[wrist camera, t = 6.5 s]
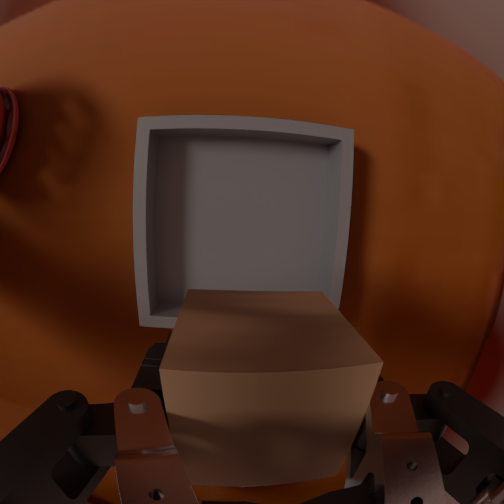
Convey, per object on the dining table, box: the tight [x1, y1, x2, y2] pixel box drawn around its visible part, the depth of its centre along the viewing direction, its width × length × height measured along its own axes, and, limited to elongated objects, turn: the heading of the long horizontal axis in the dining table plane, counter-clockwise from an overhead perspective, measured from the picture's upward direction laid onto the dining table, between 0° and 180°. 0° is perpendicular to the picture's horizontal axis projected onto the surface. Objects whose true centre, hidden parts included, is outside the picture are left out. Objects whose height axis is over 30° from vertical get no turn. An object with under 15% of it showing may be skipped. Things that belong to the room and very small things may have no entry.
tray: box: [133, 115, 354, 329], centre depth 22 cm, size 16×16×4 cm
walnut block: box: [159, 289, 383, 486], centre depth 8 cm, size 5×5×5 cm
